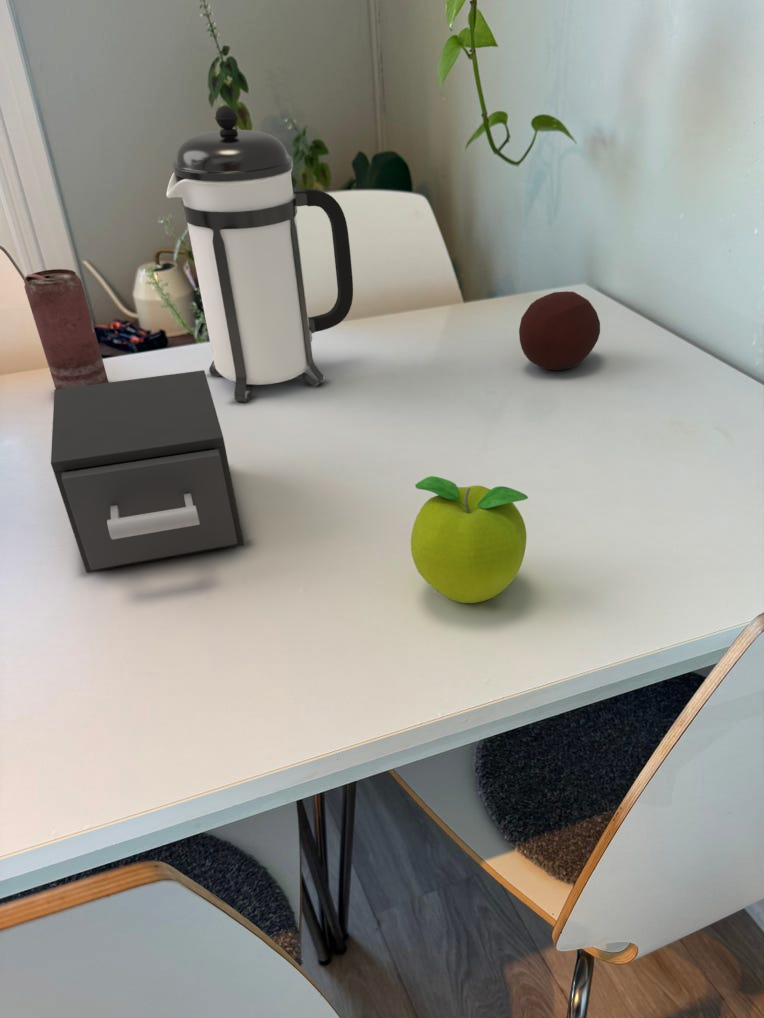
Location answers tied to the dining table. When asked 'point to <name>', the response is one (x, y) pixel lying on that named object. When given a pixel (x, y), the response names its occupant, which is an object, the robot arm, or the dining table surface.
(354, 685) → the dining table surface
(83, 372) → the can
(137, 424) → the small grey cabinet
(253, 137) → the coffee press
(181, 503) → the drawer
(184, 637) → the dining table surface
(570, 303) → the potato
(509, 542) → the fruit
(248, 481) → the dining table surface
